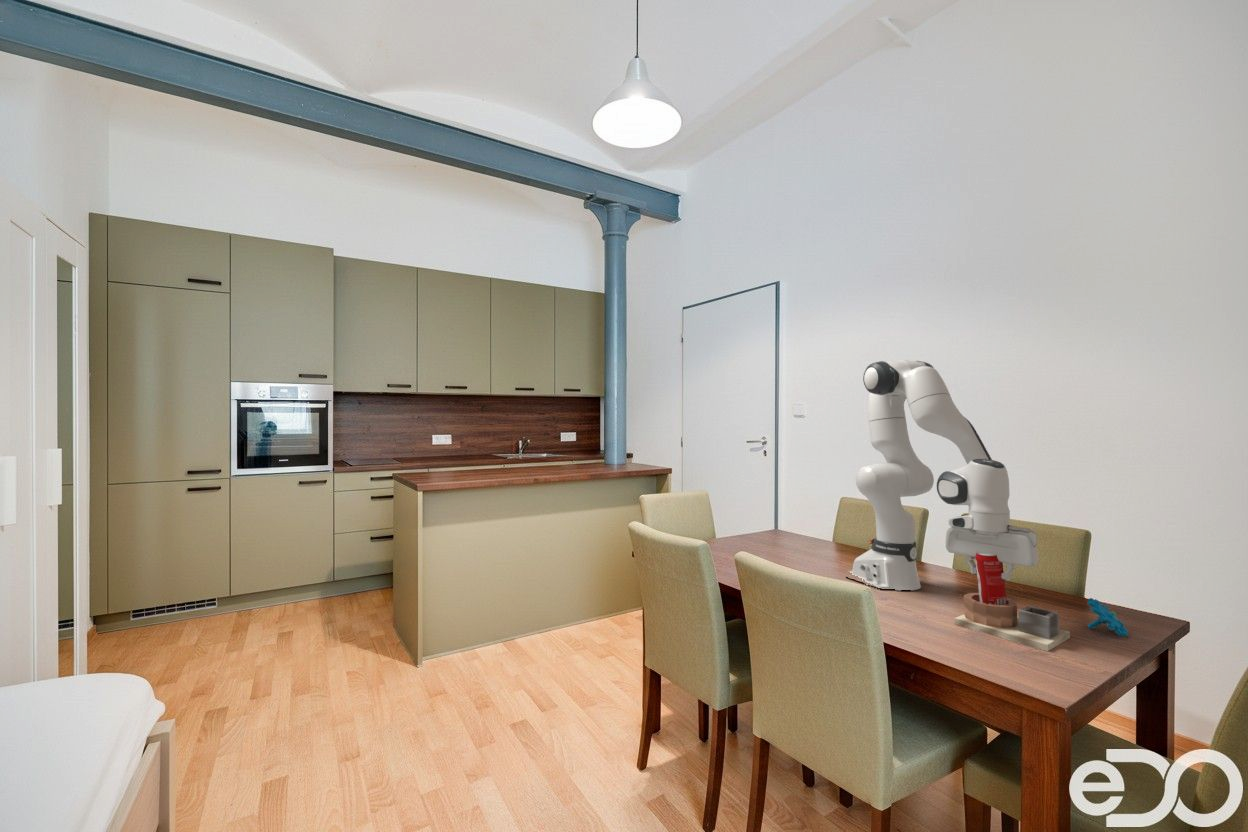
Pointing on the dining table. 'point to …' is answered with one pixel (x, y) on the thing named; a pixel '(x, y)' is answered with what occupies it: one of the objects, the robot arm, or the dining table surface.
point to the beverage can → (990, 579)
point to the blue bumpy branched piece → (1106, 618)
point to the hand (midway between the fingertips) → (990, 576)
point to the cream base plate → (1013, 622)
